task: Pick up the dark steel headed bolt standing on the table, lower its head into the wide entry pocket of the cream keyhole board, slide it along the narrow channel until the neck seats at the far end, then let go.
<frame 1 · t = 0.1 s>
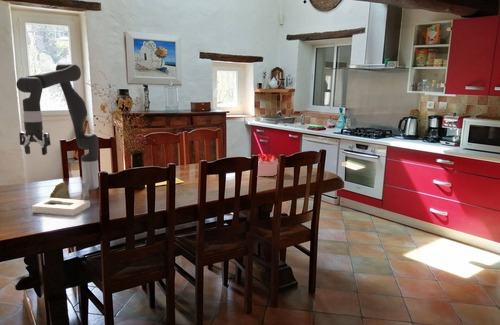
hand: (36, 154, 182), 29 cm above the table, fingers open, 8 cm apart
rock: (59, 200, 208), on the table
cake: (264, 174, 278), on the table
bolt: (86, 204, 200), on the table
keyhole board: (62, 210, 191), on the table
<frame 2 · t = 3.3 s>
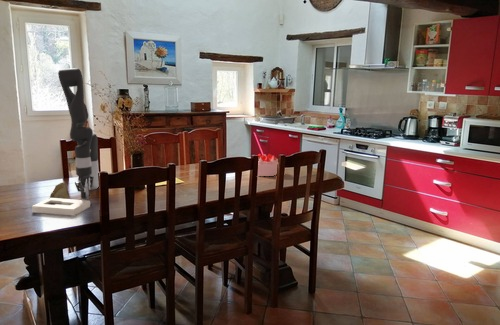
hand: (85, 197, 199), 4 cm above the table, fingers closed on bolt, 3 cm apart
bolt: (86, 204, 200), on the table, touching gripper
everything else where it was.
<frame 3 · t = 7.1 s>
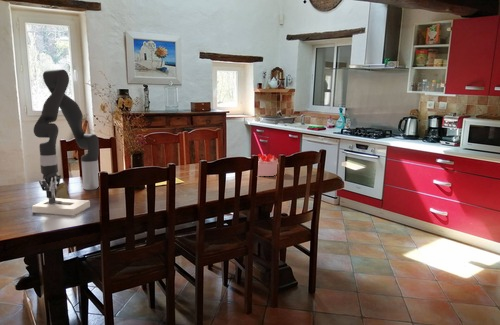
hand: (51, 196, 191), 7 cm above the table, fingers closed on bolt, 3 cm apart
bolt: (52, 204, 192), point 2 cm above the table, touching gripper
everything else where it was.
when the fingers open (5 cm above the table, at t = 11.0 s): bolt stays where it is, resting on keyhole board.
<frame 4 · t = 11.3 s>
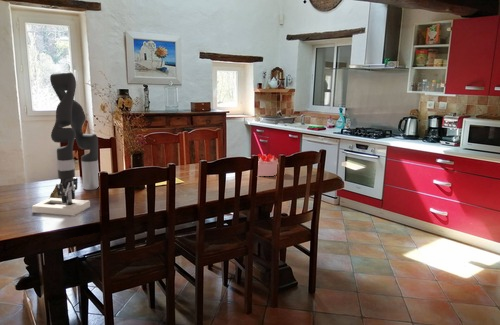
hand: (68, 200, 190), 5 cm above the table, fingers open, 6 cm apart
bolt: (69, 209, 191), resting on keyhole board
everything else where it was.
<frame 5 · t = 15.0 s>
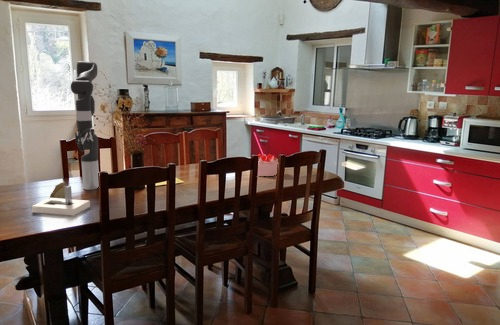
hand: (86, 149, 203), 28 cm above the table, fingers open, 8 cm apart
nothing on the table moved.
at the end: bolt 0.3 cm from the target spot on the keyhole board, point 0.4 cm above the keyhole board's base; bolt tilted 0°; the gripper is holding nothing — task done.
